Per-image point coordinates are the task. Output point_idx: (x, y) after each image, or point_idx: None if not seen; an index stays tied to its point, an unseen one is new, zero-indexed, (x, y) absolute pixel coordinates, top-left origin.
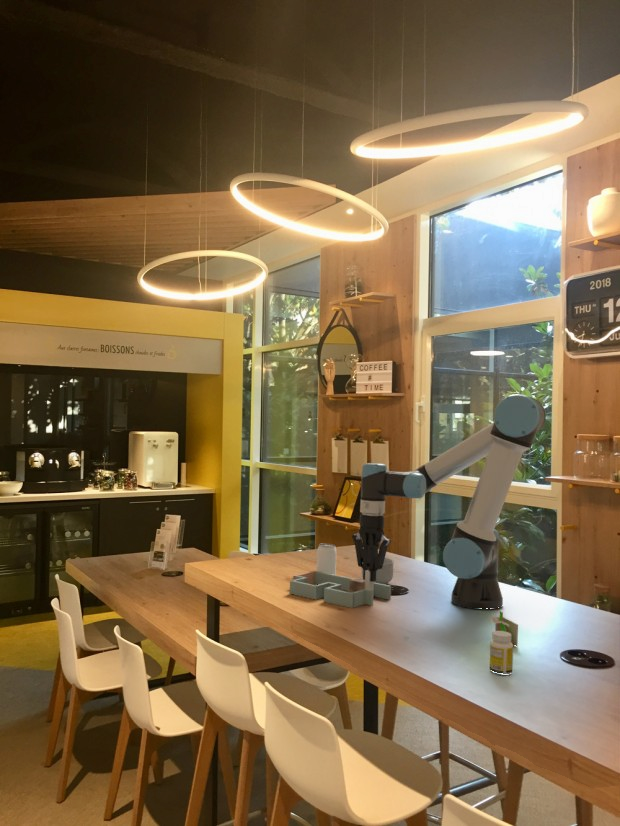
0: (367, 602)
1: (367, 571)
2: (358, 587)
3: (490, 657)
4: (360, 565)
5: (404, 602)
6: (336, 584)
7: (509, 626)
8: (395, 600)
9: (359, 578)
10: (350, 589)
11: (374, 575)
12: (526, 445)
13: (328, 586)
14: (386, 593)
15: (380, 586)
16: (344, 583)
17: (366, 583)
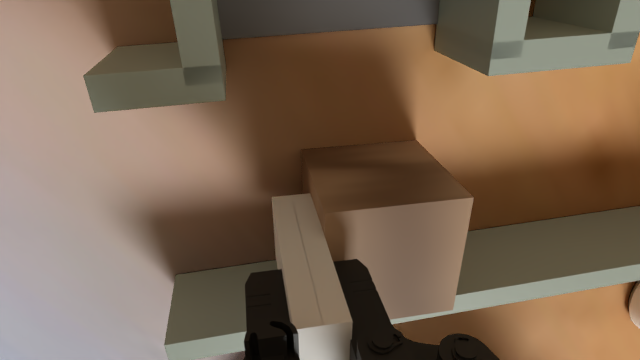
0: (156, 47)
1: (319, 319)
2: (361, 183)
3: None
4: (446, 350)
5: (60, 302)
6: (529, 42)
7: None
8: (136, 292)
9: (435, 293)
10: (426, 161)
11: (247, 330)
12: None
13: (587, 23)
14: (194, 297)
15: None
16: (537, 249)
17: (305, 235)
